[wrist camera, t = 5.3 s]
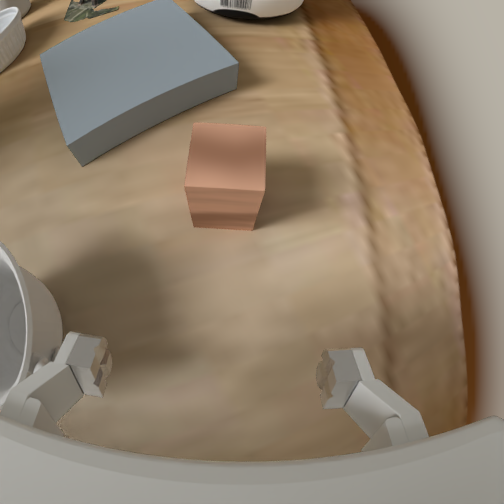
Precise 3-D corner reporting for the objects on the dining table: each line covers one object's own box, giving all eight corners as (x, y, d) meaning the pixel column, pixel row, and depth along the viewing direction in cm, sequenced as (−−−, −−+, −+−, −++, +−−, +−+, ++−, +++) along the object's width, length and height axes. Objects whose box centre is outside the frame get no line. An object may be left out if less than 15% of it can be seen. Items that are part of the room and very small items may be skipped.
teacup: (99, 432, 21) (47, 474, 12) (-17, 354, 21) (-85, 353, 12) (142, 309, 25) (98, 295, 15) (17, 245, 25) (-46, 210, 15)
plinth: (82, 166, 27) (66, 145, 23) (49, 74, 30) (39, 54, 26) (236, 88, 31) (238, 62, 27) (169, 18, 34) (167, -4, 30)
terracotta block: (252, 230, 27) (265, 191, 19) (193, 227, 27) (184, 186, 19) (254, 178, 28) (266, 126, 21) (199, 175, 28) (193, 122, 20)
